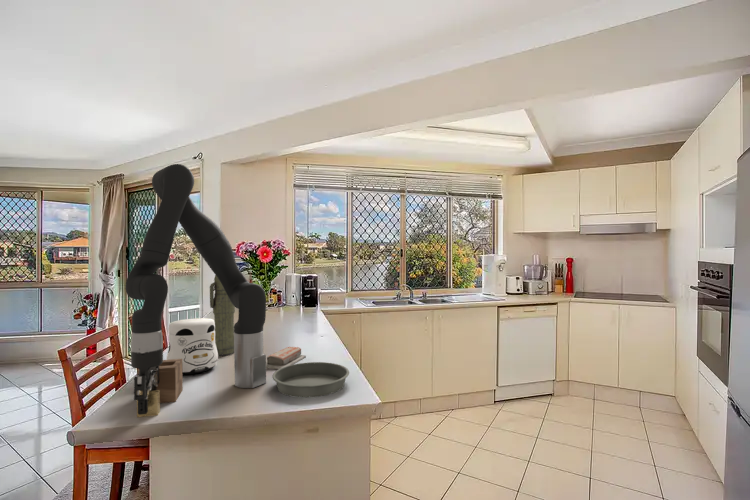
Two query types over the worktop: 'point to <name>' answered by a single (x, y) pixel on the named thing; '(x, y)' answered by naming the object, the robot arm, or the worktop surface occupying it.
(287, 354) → the packaged product
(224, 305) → the thermos
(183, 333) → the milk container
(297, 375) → the cake pan
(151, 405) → the token
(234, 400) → the worktop surface
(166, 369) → the brown wooden box
